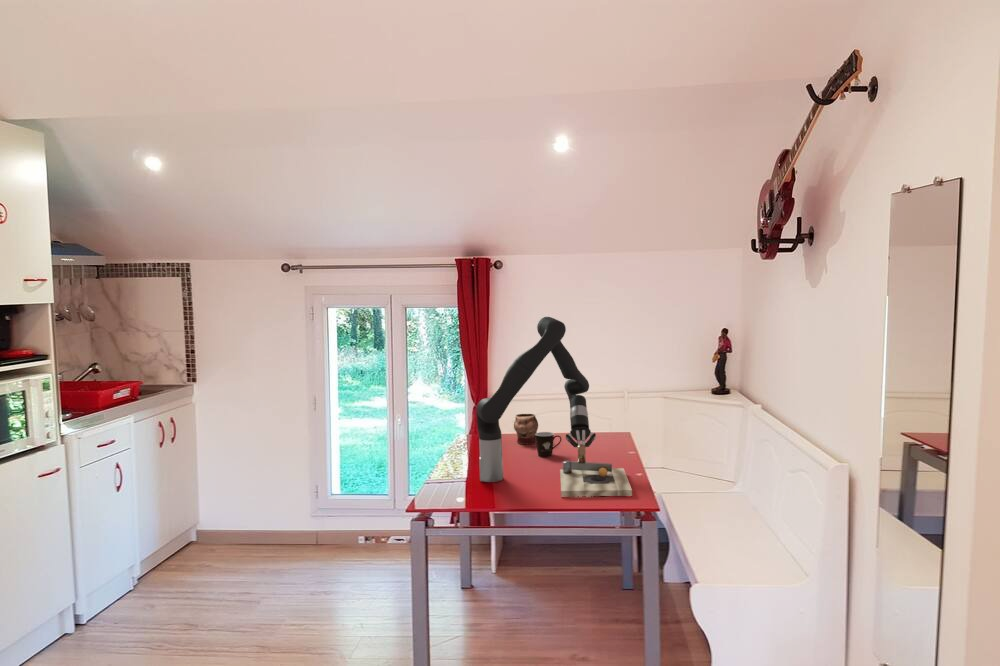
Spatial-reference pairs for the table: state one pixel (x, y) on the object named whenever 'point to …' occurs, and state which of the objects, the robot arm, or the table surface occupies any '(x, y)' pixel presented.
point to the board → (595, 483)
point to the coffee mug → (545, 443)
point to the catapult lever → (584, 463)
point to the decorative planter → (526, 428)
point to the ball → (602, 472)
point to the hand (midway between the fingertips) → (582, 455)
